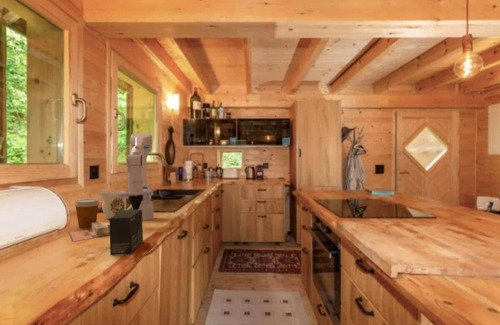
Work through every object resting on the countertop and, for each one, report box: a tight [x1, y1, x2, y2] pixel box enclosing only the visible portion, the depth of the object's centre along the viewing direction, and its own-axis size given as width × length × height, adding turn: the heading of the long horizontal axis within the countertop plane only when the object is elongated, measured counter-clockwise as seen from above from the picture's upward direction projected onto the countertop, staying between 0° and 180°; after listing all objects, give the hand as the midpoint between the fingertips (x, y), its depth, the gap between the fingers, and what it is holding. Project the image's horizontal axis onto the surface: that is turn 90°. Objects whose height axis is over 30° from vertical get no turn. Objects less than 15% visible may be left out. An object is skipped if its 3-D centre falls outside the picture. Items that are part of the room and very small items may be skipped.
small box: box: [108, 209, 144, 256], centre depth 91 cm, size 13×7×12 cm, turn 7°
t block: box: [91, 220, 110, 236], centre depth 110 cm, size 11×12×3 cm
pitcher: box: [97, 190, 132, 220], centre depth 136 cm, size 11×18×14 cm, turn 139°
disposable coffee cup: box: [74, 198, 101, 229], centre depth 117 cm, size 10×10×12 cm
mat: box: [67, 228, 110, 243], centre depth 108 cm, size 21×16×1 cm
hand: (135, 212), depth 116 cm, fingers closed
